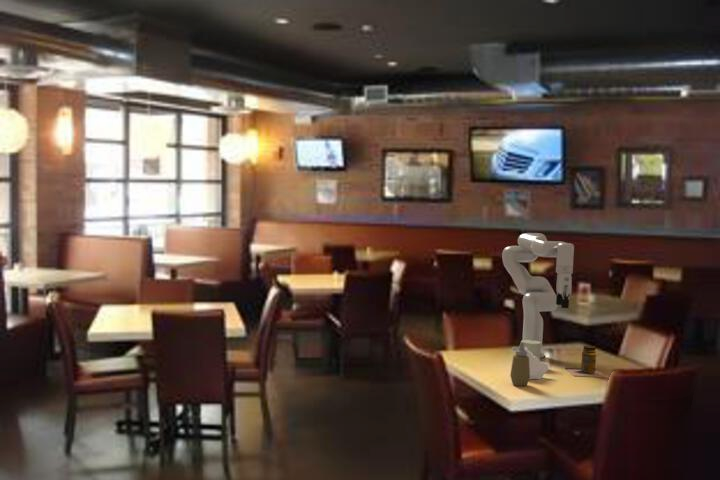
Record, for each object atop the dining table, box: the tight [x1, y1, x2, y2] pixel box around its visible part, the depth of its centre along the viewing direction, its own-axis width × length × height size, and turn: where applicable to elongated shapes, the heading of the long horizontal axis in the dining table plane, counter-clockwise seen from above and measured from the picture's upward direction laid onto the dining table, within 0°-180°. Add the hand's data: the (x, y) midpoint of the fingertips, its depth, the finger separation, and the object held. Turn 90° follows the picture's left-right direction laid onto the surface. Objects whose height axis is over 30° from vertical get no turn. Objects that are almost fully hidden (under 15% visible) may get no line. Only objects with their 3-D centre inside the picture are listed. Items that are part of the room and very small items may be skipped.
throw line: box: [565, 366, 597, 370], centre depth 359 cm, size 14×2×1 cm, turn 90°
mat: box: [566, 369, 606, 378], centre depth 351 cm, size 14×12×1 cm
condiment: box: [574, 345, 599, 375], centre depth 350 cm, size 7×8×12 cm
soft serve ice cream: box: [524, 347, 549, 381], centre depth 339 cm, size 12×15×14 cm
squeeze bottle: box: [509, 341, 531, 387], centre depth 325 cm, size 8×8×18 cm
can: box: [520, 339, 541, 361], centre depth 362 cm, size 9×9×12 cm
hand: (562, 306), depth 362 cm, fingers open, 9 cm apart
